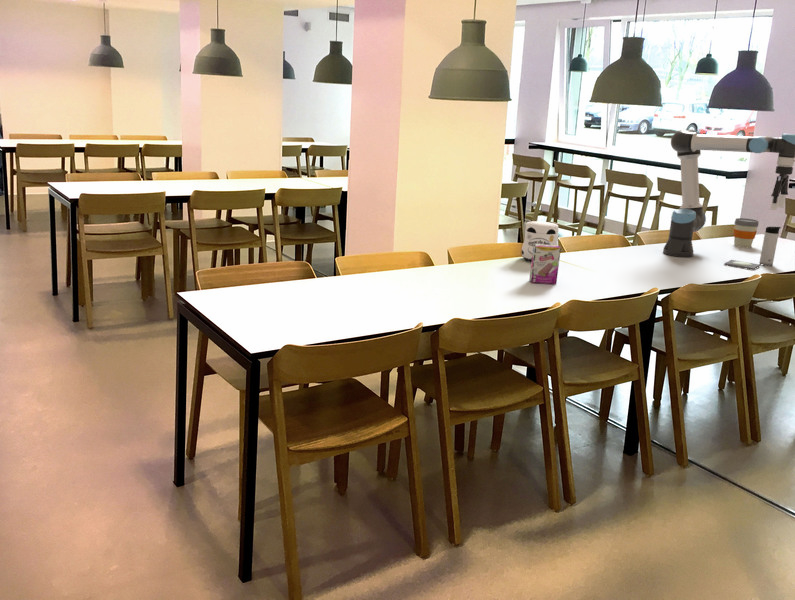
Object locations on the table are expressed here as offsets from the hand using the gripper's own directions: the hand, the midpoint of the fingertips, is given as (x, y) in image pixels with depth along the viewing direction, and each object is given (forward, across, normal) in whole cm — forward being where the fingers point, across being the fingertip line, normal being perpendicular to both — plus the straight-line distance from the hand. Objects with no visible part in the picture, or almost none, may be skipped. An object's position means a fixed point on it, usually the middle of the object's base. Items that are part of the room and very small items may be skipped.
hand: (777, 208), depth 384 cm
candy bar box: (+29, -128, +59) cm, 144 cm away
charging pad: (+29, -14, +8) cm, 33 cm away
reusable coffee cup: (+29, +45, +24) cm, 59 cm away
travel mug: (+29, 0, 0) cm, 29 cm away
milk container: (+29, -90, +83) cm, 125 cm away
